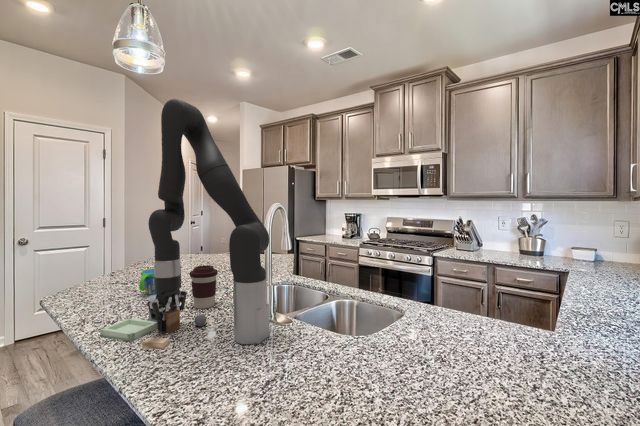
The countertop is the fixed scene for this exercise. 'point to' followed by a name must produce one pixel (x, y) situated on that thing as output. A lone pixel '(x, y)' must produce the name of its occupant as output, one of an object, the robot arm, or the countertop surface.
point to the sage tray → (129, 329)
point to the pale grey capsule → (151, 301)
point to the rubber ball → (200, 320)
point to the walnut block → (171, 321)
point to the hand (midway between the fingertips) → (168, 328)
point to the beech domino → (155, 343)
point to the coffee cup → (204, 286)
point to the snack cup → (147, 282)
